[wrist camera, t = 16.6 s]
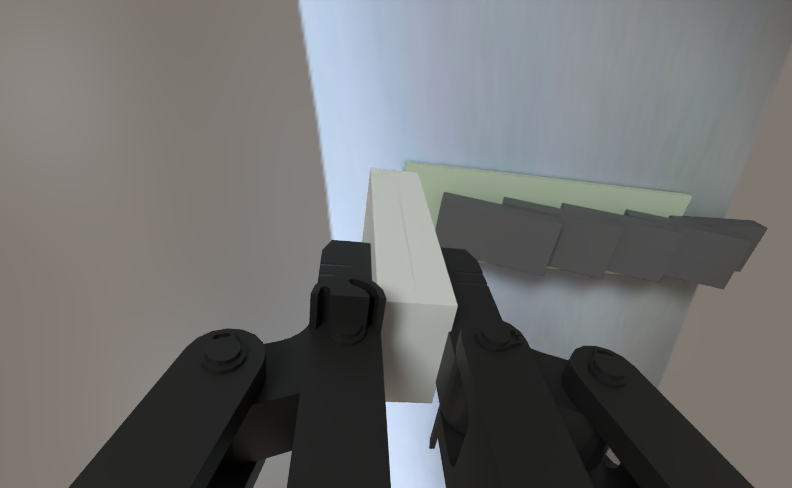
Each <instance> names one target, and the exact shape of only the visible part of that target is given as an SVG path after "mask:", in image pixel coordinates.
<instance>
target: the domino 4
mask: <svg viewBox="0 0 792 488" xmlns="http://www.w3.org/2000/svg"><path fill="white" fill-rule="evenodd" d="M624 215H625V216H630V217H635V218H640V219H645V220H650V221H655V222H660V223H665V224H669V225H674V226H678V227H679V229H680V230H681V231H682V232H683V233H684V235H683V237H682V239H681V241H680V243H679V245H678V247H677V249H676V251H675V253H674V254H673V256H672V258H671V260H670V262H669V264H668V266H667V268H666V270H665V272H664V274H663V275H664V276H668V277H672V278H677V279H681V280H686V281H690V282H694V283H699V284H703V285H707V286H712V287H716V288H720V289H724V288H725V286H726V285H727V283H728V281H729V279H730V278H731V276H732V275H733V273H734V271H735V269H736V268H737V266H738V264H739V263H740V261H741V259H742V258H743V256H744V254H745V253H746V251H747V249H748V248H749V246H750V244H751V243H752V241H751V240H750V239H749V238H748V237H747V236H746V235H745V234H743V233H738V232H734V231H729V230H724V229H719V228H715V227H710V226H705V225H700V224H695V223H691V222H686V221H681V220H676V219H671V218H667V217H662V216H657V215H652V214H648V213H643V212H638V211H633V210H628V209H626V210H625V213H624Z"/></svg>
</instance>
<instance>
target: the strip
mask: <svg viewBox="0 0 792 488" xmlns="http://www.w3.org/2000/svg"><path fill="white" fill-rule="evenodd" d="M404 171H406V172H415V173H418V175H419V178H420V182H421V185H422V188H423V192H424V195H425V198H426V202H427V205H428V208H429V212H430V215H431V218H432V222H433V225H434V228H436V224H437V219H438V214H439V210H440V205H441V201H442V197H443V193H444V192H448V193H453V194H457V195H462V196H466V197H471V198H475V199H480V200H485V201H489V202H494V203H498V204H502V202H503V198H504V197H509V198H513V199H518V200H523V201H528V202H532V203H537V204H542V205H547V206H551V207H556V208H561V205H562V203H567V204H571V205H576V206H581V207H586V208H591V209H596V210H601V211H606V212H611V213H616V214H620V215H624V213H625V210H626V209H628V210H633V211H638V212H643V213H648V214H652V215H657V216H662V217H667V218H669V216H670V215H674V216H683V214H684V212H685V210H686V208H687V206H688V204H689V202H690V200H691V198H692V196H690V195H689V194H683V193H674V192H666V191H657V190H649V189H640V188H632V187H623V186H615V185H607V184H598V183H590V182H581V181H573V180H564V179H556V178H547V177H539V176H530V175H522V174H513V173H505V172H497V171H488V170H480V169H471V168H463V167H454V166H446V165H437V164H429V163H420V162H412V161H405V167H404ZM477 261H478V260H477ZM478 263H487V262H482V261H478ZM490 264H491V263H490ZM547 268H549V269H558V268H553V267H549V266H547ZM561 270H562V269H561ZM605 273H608V274H618V273H613V272H609V271H605ZM620 275H622V274H620Z"/></svg>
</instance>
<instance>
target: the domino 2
mask: <svg viewBox="0 0 792 488" xmlns="http://www.w3.org/2000/svg"><path fill="white" fill-rule="evenodd" d="M502 204H503V205H508V206H512V207H517V208H521V209H526V210H531V211H535V212H540V213H544V214H549V215H554V216H558V217H560V218H561V221H562V224H563V225H562V228H561V231H560V233H559V236H558V238H557V241H556V244H555V246H554V249H553V252H552V254H551V257H550V260H549V262H548V265H547V266H549V267H553V268H558V269H562V270H566V271H571V272H575V273H580V274H584V275H589V276H593V277H597V278H602V277H603V275H604V273H605V271H606V268H607V266H608V264H609V262H610V260H611V257H612V255H613V253H614V251H615V249H616V246H617V244H618V242H619V240H620V237H621V235H622V233H623V231H624V227H623V226H622V224H621V222H620V221H618V220H613V219H608V218H603V217H599V216H594V215H589V214H584V213H580V212H575V211H570V210H565V209H561V208H556V207H551V206H547V205H542V204H537V203H532V202H528V201H523V200H518V199H513V198H509V197H504V198H503V202H502Z"/></svg>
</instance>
